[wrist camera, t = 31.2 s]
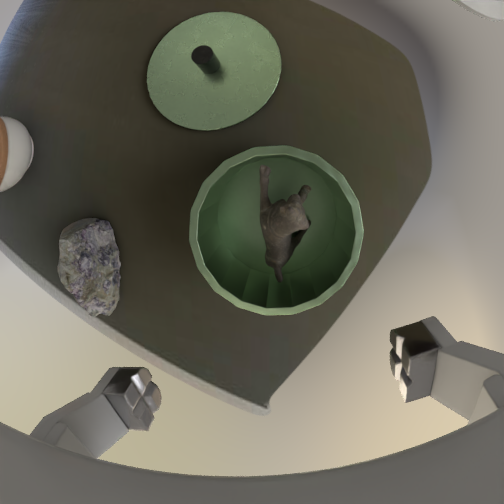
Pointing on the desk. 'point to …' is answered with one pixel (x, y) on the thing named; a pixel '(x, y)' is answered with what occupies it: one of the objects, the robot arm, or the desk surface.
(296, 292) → the waste tin
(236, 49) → the tin lid
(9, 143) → the lidded bowl
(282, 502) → the robot arm
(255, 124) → the desk surface
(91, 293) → the mineral rock
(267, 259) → the dog figurine
